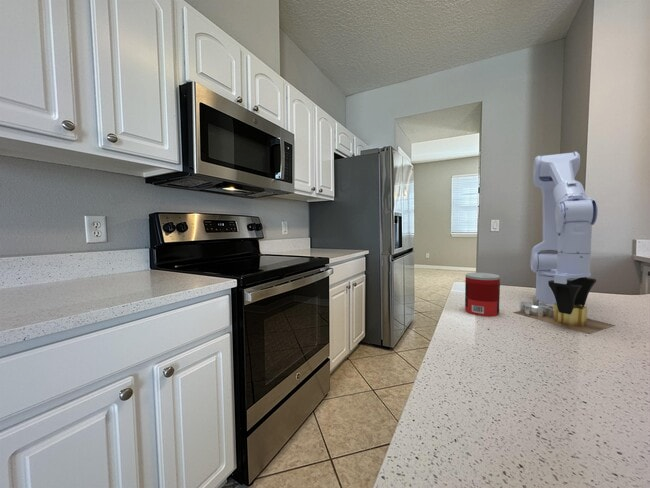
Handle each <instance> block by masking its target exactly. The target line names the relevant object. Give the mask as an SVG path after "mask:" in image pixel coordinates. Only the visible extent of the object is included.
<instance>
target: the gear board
mask: <svg viewBox="0 0 650 488" xmlns="http://www.w3.org/2000/svg"><path fill="white" fill-rule="evenodd" d="M532 301H533V305H536V306H539V303H540V301H539V300H536V298H534V299H532ZM512 313H513V314H517V315H521V316H524V317H527V318H531V319H534V320H539V321H541V322H545V323H548V324H552V325H555V326H559V327H563V328H566V329H571V330H574V331H578V332H581V333H583V334H584V333H585V334H589V335H591V334H594V333H597V332H600V331H602V330H606V329H610V328H613V327H615V326H616V325H615V324H611V323H608V322H603V321H599V320H596V319H591V318H587V323H586V325H584V326H583V327H581V326H576V325H574V326H569V325H568V324H560V323H557V321H554V320H553V317H554V309H553V315H552V317H546V316H544V317H543V318H541V317H537V316H533V315H530V316H528V315H525V313H520V312H519V310H517V311H514V312H513V311H512Z"/></svg>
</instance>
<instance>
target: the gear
mask: <svg viewBox="0 0 650 488" xmlns="http://www.w3.org/2000/svg"><path fill="white" fill-rule="evenodd" d="M518 309H519V310H518V311H519V312H520V313H525V315H528V316H530V315H533V316H537V317H541V318H543V317H544V316H546V317H552V315H553V310H554V305H550V304H547V303H543V302H539V306H536V305H533V300H531V301H521V302H520V303H519V308H518Z"/></svg>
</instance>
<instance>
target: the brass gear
mask: <svg viewBox="0 0 650 488" xmlns="http://www.w3.org/2000/svg"><path fill="white" fill-rule="evenodd" d="M553 310H554V317H553V320H554V321H557V323H560V324H568V325H569V326H574V325H576V326H581V327H583V326H584V325H586V323H587V319H588V318H587V317H588V307H587V306H584V307H582V305H580V304H574V307H573V311H572V313H571V314H565V313H560V312H559V311H558V307H557V303H554V304H553Z"/></svg>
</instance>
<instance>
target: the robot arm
mask: <svg viewBox="0 0 650 488" xmlns="http://www.w3.org/2000/svg"><path fill="white" fill-rule="evenodd" d="M580 165H581V155H580V153H579V152H578V151H573V152H565V153H556V154H548V155H537V156H536V157H535V158H534V161H533V165H532V166H533V167H532V168H533V169H532V172H533V174H532V175H533V176H532V177H533V179H532V181H533V185H534V186H533V187H536V188H539V189H540V192H541V197H542V198H541V199H542V200H541V201H542V202H541V203H542V207H541V208H542V241H541V242H539V243H538V244H535V245H534V246H533V247H532V249H531V254H530V261H529V262H530V263H529V264H530V270H531V271H532V273H535V274H536V275H535V277H536V279H535V299H536V300H539V303H545V304H548V305H550V304H551V305H554V303H557V307H558V311H559V312H560V313H565V314H571V313H572V311H573V307H574V304H580V305H582V307H585V305H586V302H587V299H588V296H589V293H590V291H591V290H592V288H593V286H595V284H596V282H597V279H596V278H591V276H592V273H591V255H592V254H591V253H592V236H593V235H592V230H593V225H595V223H596V222H597V219H598V214H599V213H598V212H599V207H598V204H597V201H596V199H595V198H592V197H588V196H587V193H586V191H585V188H584V186H583V184H582V183H581V182H580V181H578V180H576V179H575V178H576V176H577V173H578V172H579V170H580V167H581V166H580Z"/></svg>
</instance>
